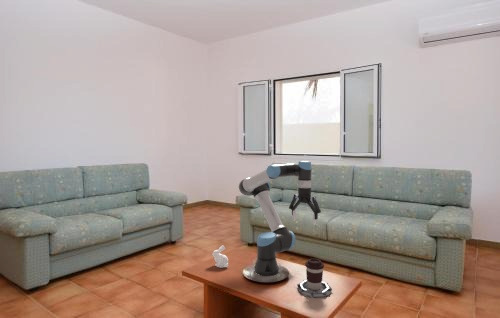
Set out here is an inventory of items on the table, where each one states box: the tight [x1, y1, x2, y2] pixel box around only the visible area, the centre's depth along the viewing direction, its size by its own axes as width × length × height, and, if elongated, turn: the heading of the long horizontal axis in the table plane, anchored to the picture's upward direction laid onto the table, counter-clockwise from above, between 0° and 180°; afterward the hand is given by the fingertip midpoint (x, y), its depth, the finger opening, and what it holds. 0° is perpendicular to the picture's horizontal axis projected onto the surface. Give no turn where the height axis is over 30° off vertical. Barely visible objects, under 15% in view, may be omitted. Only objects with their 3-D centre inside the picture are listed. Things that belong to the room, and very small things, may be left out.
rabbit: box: [212, 244, 229, 269], centre depth 209 cm, size 12×9×12 cm
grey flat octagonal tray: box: [296, 279, 333, 299], centre depth 175 cm, size 18×18×2 cm
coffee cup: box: [304, 258, 325, 290], centre depth 174 cm, size 10×10×15 cm
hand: (304, 222), depth 190 cm, fingers open, 13 cm apart
